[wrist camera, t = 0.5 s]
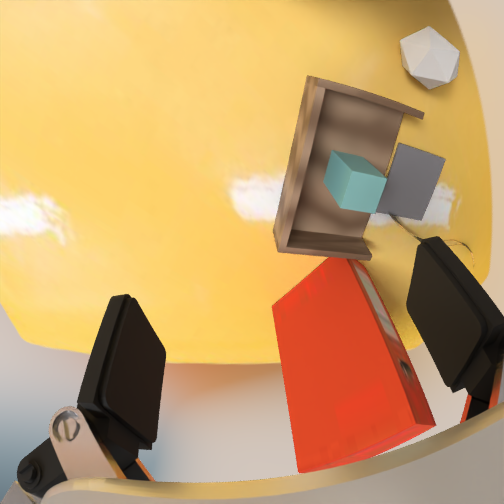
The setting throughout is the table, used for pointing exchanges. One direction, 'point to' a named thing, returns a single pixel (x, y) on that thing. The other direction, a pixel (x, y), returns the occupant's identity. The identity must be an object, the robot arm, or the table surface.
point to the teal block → (354, 182)
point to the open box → (316, 161)
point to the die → (429, 57)
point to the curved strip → (448, 243)
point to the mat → (410, 182)
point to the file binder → (345, 369)
